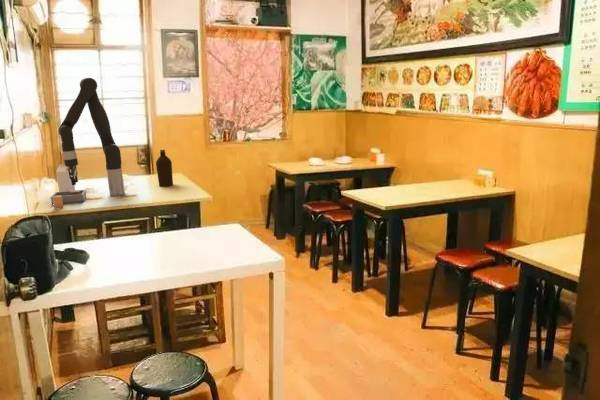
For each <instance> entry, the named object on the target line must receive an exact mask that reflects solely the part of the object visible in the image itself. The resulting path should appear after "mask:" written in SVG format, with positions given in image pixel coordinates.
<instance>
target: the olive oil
mask: <svg viewBox="0 0 600 400" xmlns="http://www.w3.org/2000/svg"><path fill="white" fill-rule="evenodd" d="M159 151H160V152H159V156H158V158H157V160H156V162H155V166H156V167H155V168H156V175H157V180H158V186H159V187H160V188H166V187H172V186H173V185H174V182H173V180H174V179H173V163H172V160H171V158H169V157H168V156H167V155H166V150H165V149H160V150H159Z"/></svg>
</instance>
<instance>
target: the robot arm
mask: <svg viewBox="0 0 600 400" xmlns="http://www.w3.org/2000/svg"><path fill="white" fill-rule="evenodd" d="M79 87H80V89H79V92H78V94H77V97H76V98H75V100H74V101H73V103H72V105H71V106H70V108H69V110H68V111H67V113H66V115H65V118H64V119H63V121H62V123H61V124H60V125H59V127H58V134H59V136H60V139H61V148H62V157H63V162H64V165H65V166H66V167H69V169H68V172H69V177H70V179H71V183H72V185H74V186H76V185H77V183H78V182H79V179H78V173H79V172H78V169H77V166H79V161H78V156H77V152H76V148H75V147H76V145H75V142H74V132H73V129H74V128H75V125H77V123H79V122H78V121H79V120H80V117H81V115H82V113H83V111H84V109H85V107H86V105H87V107H88V111H89V114H90V117H91V120H92V123H93V125H94V127H95V128H94V129H95V130H96V132H97V135H98V136H99V139H100V143H101V145H102V152H103V153H104V155H105V162H106V163H105V169H106V176H107V184H108V190H109V191H108V192H109V196H112V197H117V196H118V197H119V196H123V195H125V194H126V190H125V182H124V177H123V169H122V155H121V150H120V149H121V148H120V147H119V146H118V145H117V143H116V142H115V140H114V138H113V135H112V130H111V129H112V128H111V125H110V120H109V117H108V114H107V112H106V109H105V107H104V106H103V104H102V103H101V100H100V98H99V96H98V95H99V94H98V91H97V90H98V82H97V81H96V79H94V78H92V77H84V78H82V79H81V80H80V81H79ZM71 176H73V177H71Z"/></svg>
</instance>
